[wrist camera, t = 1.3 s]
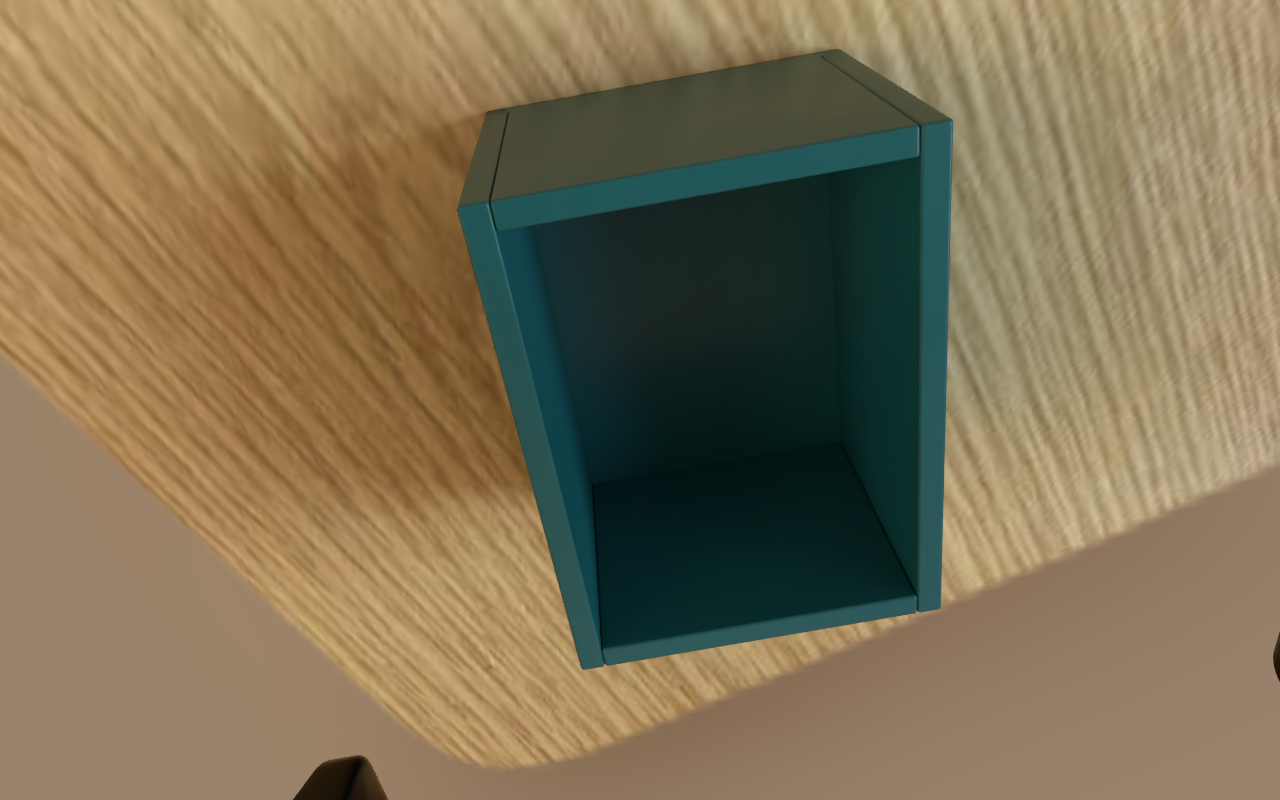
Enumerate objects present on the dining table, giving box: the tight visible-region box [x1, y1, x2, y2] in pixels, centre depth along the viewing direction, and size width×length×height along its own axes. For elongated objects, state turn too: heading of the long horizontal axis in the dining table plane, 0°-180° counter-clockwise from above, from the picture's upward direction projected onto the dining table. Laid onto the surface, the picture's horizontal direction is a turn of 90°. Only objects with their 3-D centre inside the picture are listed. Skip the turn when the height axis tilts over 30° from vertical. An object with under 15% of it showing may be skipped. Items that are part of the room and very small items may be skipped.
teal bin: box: [457, 49, 953, 670], centre depth 15 cm, size 6×8×5 cm
